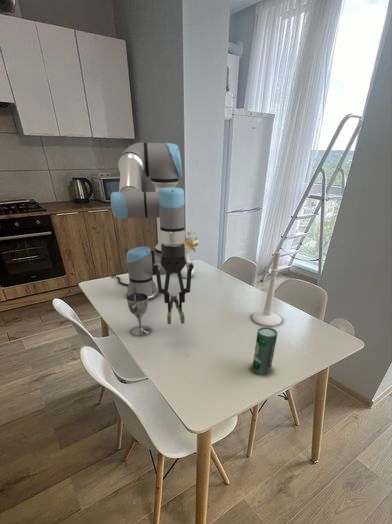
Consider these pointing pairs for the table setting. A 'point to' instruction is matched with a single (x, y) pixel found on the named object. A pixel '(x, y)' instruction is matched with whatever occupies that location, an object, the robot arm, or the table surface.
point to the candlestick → (269, 300)
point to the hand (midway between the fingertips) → (174, 310)
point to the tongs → (174, 299)
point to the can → (264, 350)
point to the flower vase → (189, 245)
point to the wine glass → (138, 310)
